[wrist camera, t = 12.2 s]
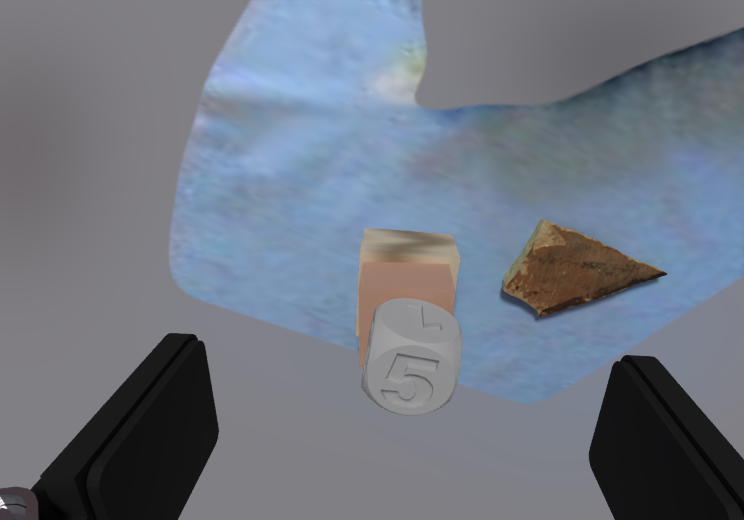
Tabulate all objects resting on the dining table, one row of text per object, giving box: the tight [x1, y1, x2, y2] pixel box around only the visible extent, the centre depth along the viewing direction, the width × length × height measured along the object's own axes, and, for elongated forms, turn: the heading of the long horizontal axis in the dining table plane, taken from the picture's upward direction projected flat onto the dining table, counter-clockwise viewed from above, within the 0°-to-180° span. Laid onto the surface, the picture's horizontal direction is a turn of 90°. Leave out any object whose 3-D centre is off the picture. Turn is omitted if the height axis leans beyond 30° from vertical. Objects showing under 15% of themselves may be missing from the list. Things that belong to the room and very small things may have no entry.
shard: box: [502, 219, 667, 317], centre depth 36 cm, size 11×8×2 cm
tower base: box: [356, 228, 460, 336], centre depth 35 cm, size 7×7×5 cm
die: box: [361, 298, 462, 415], centre depth 27 cm, size 5×5×5 cm
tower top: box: [358, 262, 455, 367], centre depth 31 cm, size 6×6×4 cm
